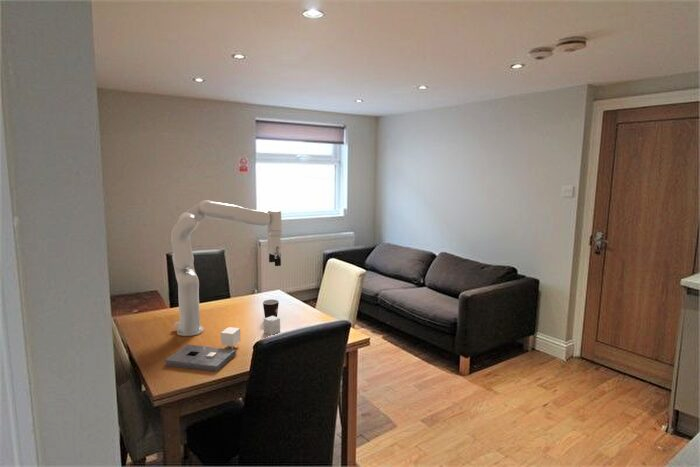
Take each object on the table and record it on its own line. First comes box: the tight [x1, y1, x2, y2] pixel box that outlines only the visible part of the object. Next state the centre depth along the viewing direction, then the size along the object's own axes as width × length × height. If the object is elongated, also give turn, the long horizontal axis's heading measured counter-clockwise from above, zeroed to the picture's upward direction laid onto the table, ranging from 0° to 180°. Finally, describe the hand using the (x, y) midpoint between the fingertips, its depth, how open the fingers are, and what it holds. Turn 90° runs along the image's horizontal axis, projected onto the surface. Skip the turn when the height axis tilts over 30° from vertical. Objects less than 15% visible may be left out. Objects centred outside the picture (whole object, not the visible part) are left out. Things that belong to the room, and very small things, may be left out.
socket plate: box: [164, 343, 236, 372], centre depth 182 cm, size 24×16×3 cm, turn 77°
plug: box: [220, 326, 241, 350], centre depth 195 cm, size 6×7×8 cm
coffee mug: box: [262, 299, 280, 318], centre depth 232 cm, size 12×9×10 cm
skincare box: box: [263, 316, 281, 336], centre depth 214 cm, size 6×6×7 cm
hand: (274, 263), depth 229 cm, fingers open, 9 cm apart
